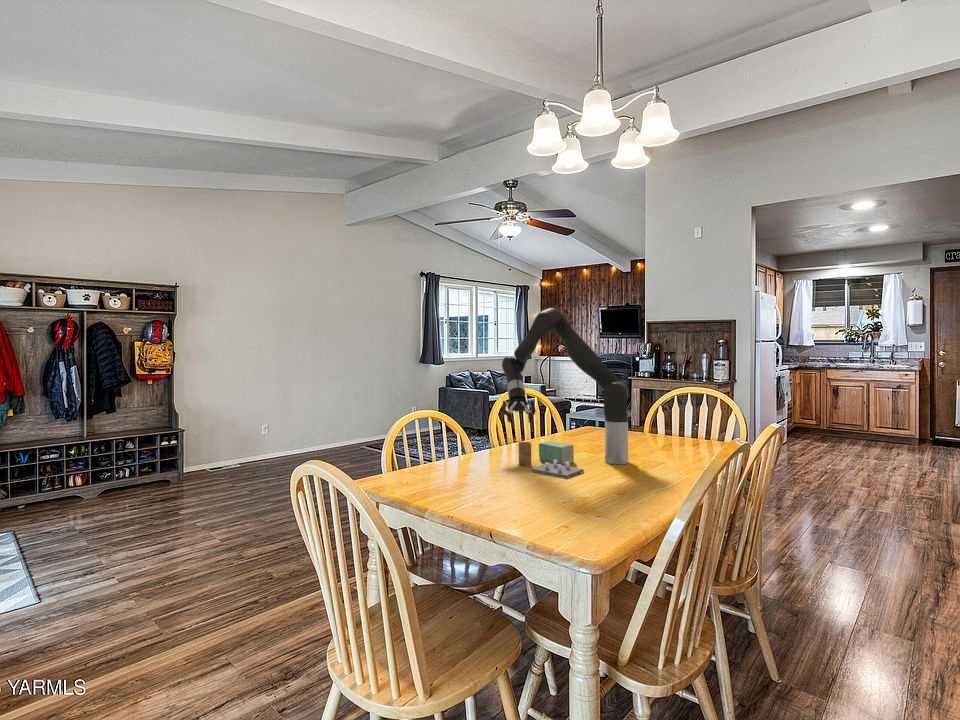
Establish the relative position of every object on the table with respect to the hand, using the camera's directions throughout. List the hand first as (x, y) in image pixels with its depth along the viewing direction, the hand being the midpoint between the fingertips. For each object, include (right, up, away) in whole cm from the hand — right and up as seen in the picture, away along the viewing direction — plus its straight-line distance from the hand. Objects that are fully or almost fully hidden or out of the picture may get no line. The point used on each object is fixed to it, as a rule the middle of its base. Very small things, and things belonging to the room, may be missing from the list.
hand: (520, 421), depth 232 cm
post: (+1, -16, -10) cm, 19 cm away
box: (+15, -16, -4) cm, 22 cm away
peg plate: (+13, -17, -23) cm, 31 cm away
